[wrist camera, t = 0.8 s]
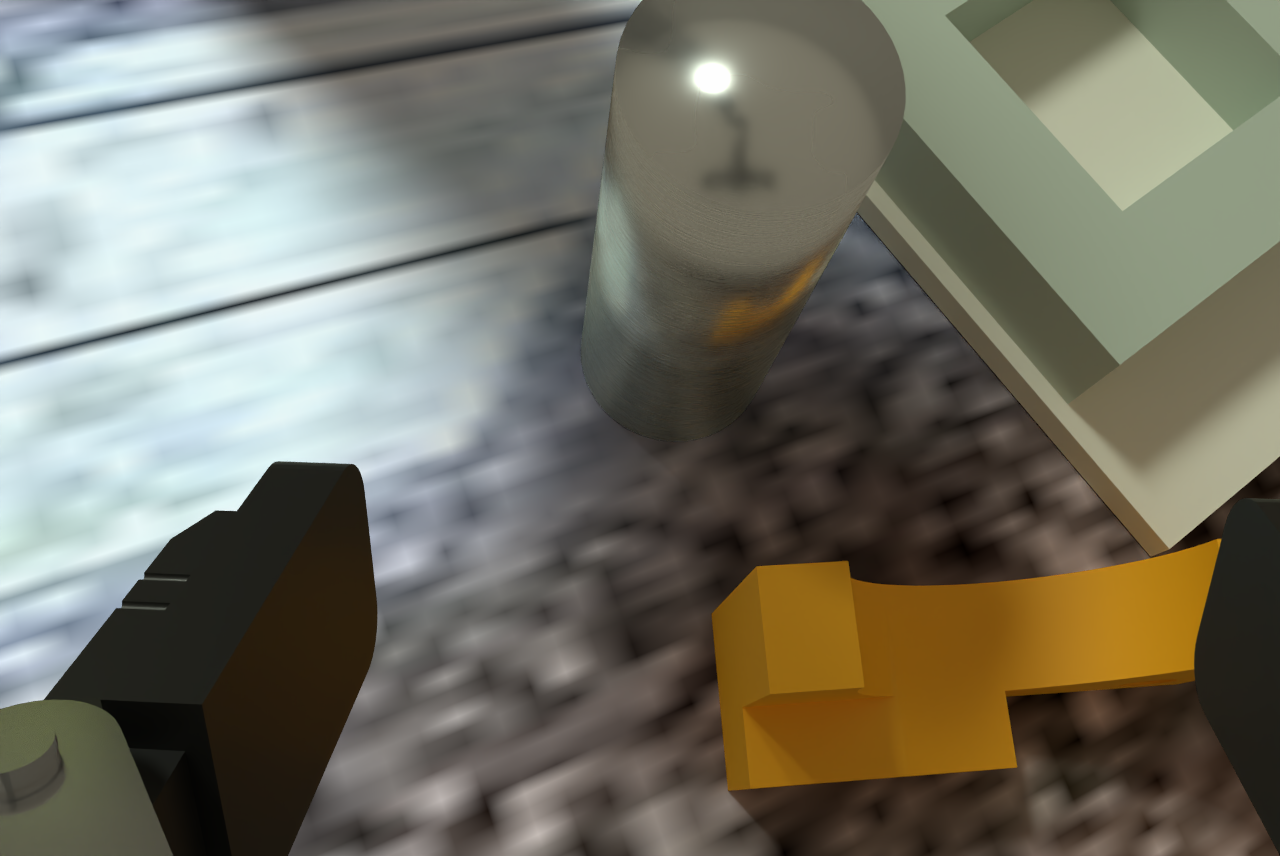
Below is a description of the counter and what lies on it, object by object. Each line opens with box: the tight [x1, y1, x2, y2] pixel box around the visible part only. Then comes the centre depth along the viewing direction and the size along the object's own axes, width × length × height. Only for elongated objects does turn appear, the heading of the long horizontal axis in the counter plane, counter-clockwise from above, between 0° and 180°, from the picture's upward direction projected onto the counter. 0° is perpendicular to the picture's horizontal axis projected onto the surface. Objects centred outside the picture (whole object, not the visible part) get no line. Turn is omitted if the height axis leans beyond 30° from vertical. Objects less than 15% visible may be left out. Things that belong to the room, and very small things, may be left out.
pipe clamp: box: [712, 539, 1221, 791], centre depth 28 cm, size 12×4×6 cm, turn 94°
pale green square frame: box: [857, 0, 1280, 557], centre depth 34 cm, size 18×14×4 cm
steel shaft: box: [581, 0, 906, 442], centre depth 27 cm, size 5×5×13 cm
